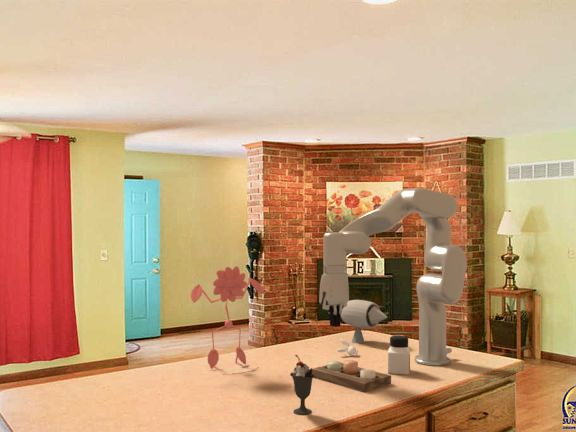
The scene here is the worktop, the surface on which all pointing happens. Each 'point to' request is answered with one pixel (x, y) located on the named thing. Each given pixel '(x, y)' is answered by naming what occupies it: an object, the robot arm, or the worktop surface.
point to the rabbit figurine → (350, 349)
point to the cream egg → (367, 374)
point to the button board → (351, 379)
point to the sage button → (334, 365)
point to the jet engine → (361, 317)
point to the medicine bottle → (399, 355)
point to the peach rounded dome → (350, 367)
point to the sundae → (302, 385)
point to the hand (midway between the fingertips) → (335, 325)
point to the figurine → (230, 289)
